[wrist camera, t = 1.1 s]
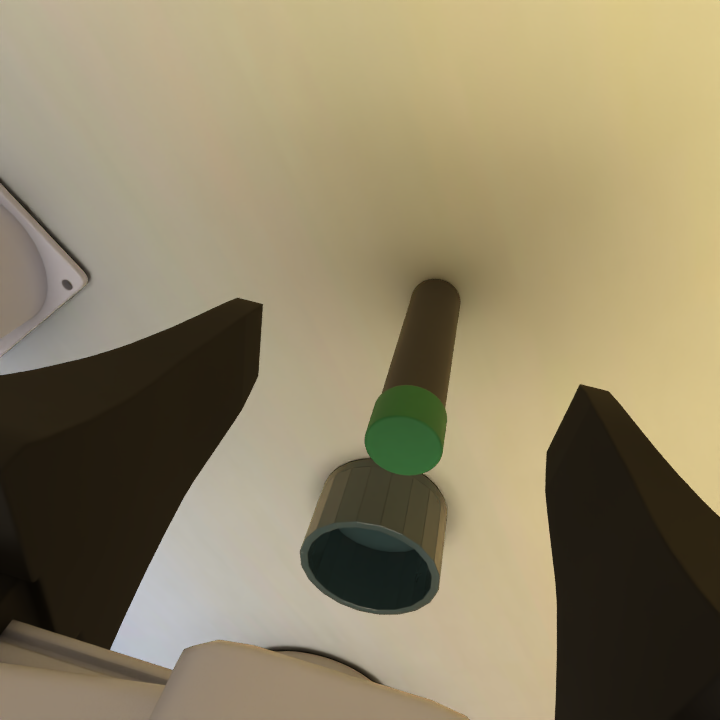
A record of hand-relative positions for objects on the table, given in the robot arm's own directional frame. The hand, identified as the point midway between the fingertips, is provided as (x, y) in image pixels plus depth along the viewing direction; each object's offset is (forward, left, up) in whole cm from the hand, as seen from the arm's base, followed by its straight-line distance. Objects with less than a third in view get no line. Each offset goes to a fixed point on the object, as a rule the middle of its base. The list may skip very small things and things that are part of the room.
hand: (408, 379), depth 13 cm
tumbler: (-11, -12, -10) cm, 19 cm away
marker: (-2, -3, -10) cm, 11 cm away
